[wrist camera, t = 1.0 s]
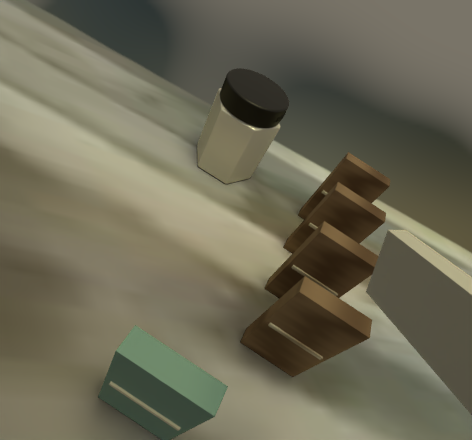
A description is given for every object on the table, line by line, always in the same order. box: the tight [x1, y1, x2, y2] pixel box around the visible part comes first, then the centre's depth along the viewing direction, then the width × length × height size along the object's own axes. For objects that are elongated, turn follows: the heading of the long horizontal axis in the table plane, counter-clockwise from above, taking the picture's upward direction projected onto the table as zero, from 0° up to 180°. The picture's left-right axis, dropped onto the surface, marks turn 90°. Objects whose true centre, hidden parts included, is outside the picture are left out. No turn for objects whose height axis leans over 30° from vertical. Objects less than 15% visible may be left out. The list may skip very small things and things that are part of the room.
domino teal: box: [98, 325, 228, 440], centre depth 21 cm, size 6×2×11 cm, turn 64°
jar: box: [197, 69, 289, 184], centre depth 43 cm, size 9×8×12 cm
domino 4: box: [240, 276, 372, 377], centre depth 28 cm, size 6×2×11 cm, turn 64°
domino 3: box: [265, 221, 379, 298], centre depth 33 cm, size 6×2×11 cm, turn 64°
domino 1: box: [298, 153, 390, 220], centre depth 43 cm, size 6×2×11 cm, turn 64°
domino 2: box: [283, 182, 386, 254], centre depth 38 cm, size 6×2×11 cm, turn 64°
